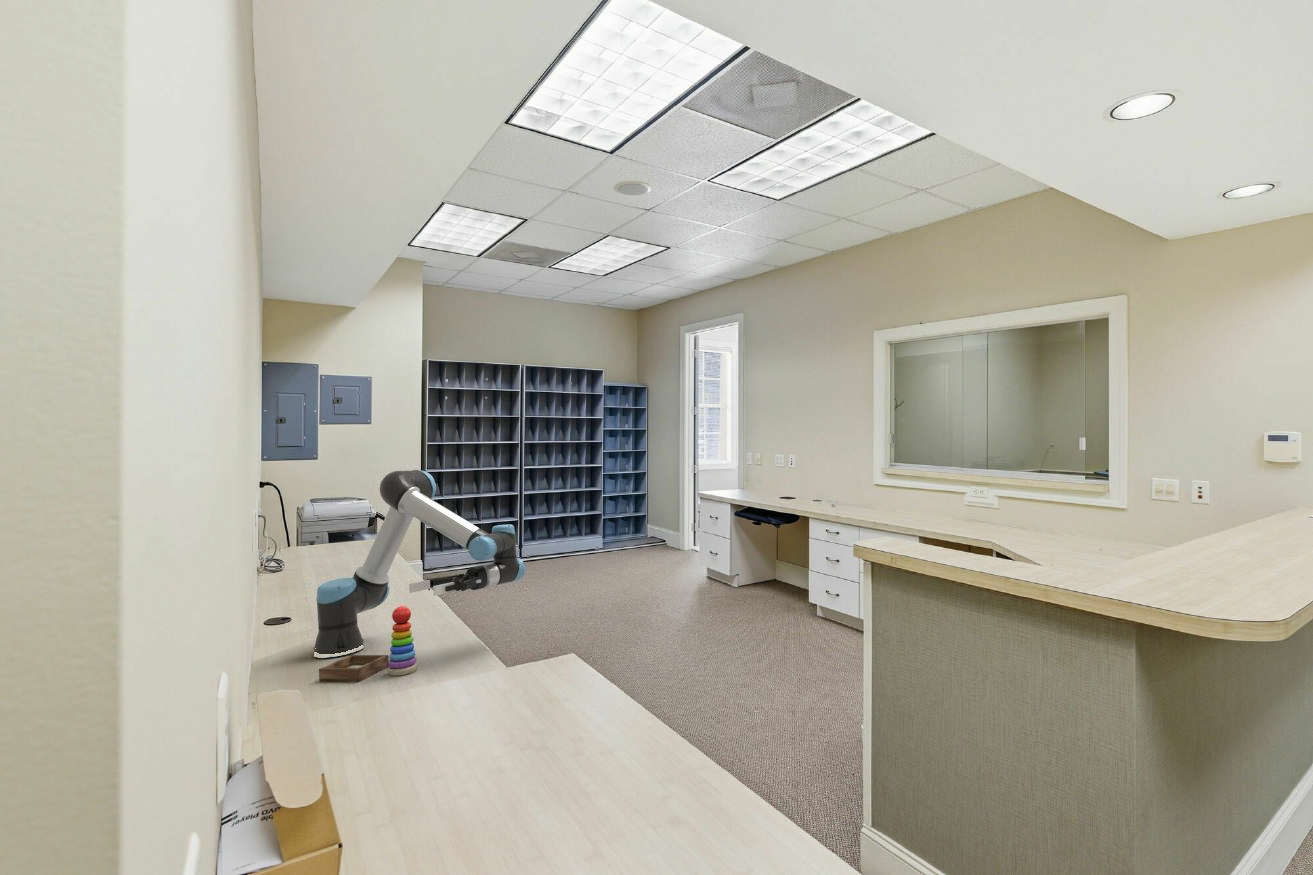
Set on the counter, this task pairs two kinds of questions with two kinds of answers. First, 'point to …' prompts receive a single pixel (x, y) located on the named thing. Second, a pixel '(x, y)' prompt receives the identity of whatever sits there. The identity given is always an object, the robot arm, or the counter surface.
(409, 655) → the stacking toy
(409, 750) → the counter surface
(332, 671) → the tray
